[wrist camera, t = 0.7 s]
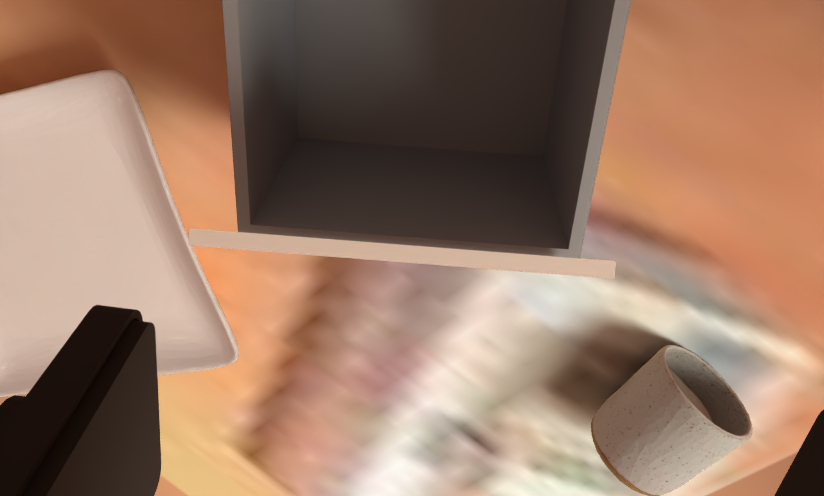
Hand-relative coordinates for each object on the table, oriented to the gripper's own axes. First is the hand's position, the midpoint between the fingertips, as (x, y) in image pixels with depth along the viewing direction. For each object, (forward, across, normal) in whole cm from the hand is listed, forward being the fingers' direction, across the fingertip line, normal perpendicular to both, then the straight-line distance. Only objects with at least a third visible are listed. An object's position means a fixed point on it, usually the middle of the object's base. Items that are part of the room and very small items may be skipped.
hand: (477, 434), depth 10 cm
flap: (+18, +1, +7) cm, 19 cm away
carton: (+34, +1, 0) cm, 34 cm away
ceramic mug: (+34, -21, +25) cm, 46 cm away
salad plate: (+35, +23, +19) cm, 46 cm away
